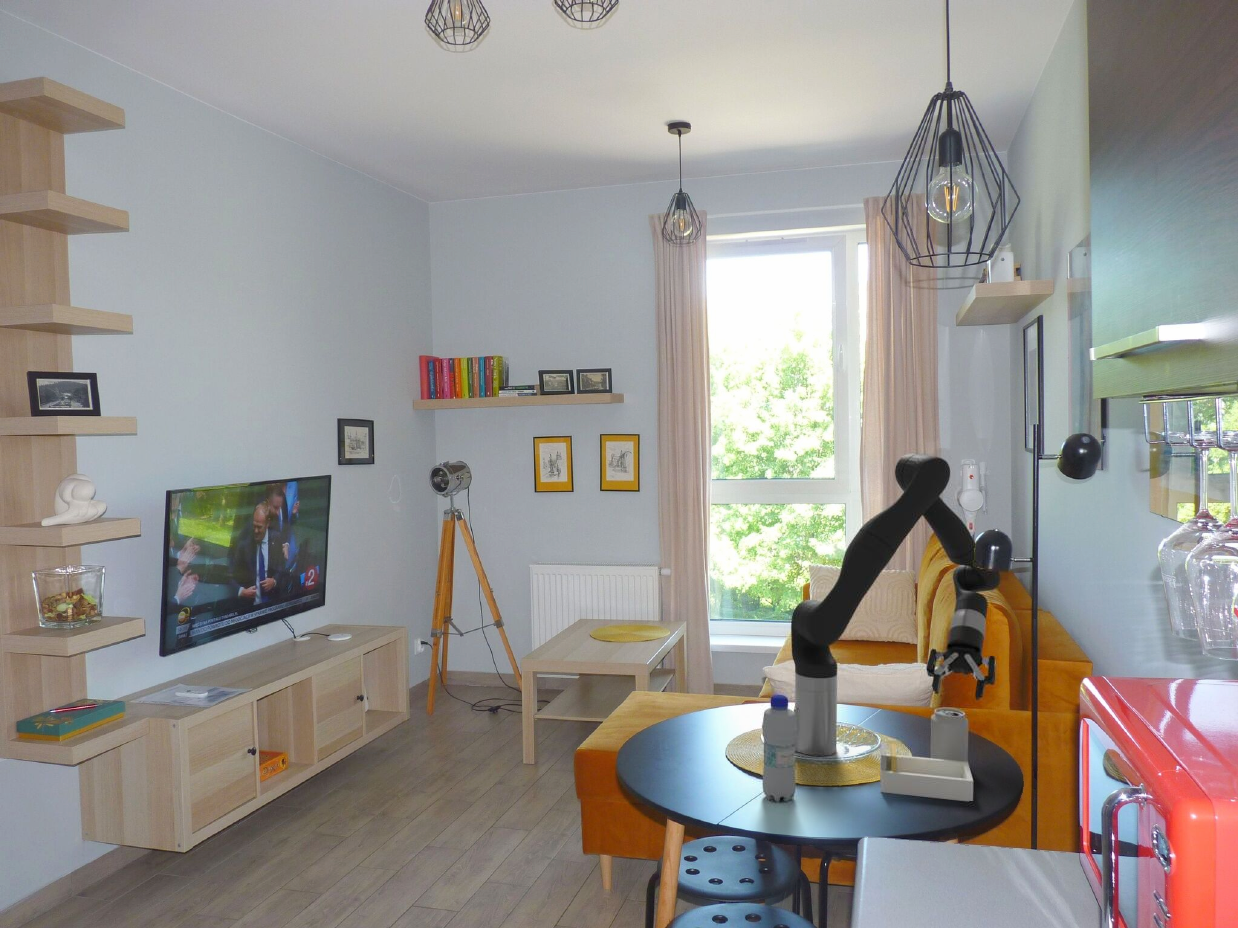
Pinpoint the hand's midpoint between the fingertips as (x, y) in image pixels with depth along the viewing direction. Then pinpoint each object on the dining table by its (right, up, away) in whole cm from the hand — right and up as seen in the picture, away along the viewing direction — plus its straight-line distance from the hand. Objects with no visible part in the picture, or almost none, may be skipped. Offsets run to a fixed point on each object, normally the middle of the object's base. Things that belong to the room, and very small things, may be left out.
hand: (956, 694), depth 198 cm
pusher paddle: (-19, -13, -16) cm, 28 cm away
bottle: (-43, -14, -23) cm, 51 cm away
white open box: (-13, -14, -17) cm, 26 cm away
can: (-4, -14, -6) cm, 16 cm away
